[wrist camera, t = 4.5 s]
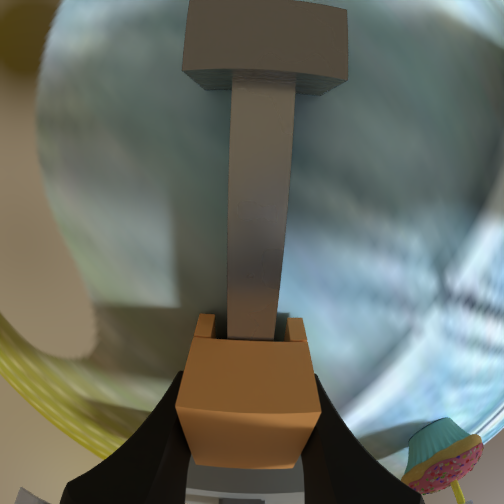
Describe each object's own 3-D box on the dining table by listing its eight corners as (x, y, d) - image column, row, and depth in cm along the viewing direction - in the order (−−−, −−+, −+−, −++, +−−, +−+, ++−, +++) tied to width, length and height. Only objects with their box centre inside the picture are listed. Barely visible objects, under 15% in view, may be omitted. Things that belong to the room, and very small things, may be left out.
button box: (163, 414, 14) (141, 505, 8) (323, 421, 14) (338, 513, 8) (178, 448, 17) (165, 519, 10) (305, 454, 17) (312, 525, 11)
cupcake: (393, 433, 16) (423, 548, 5) (475, 390, 15) (520, 488, 4) (390, 459, 19) (410, 544, 8) (457, 427, 18) (486, 504, 7)
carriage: (199, 313, 10) (175, 406, 6) (302, 317, 10) (321, 411, 6) (207, 389, 12) (195, 464, 8) (286, 392, 12) (292, 468, 8)
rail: (208, 36, 6) (189, 0, 4) (321, 42, 6) (346, 9, 4) (217, 431, 15) (213, 466, 12) (271, 433, 15) (273, 468, 12)
